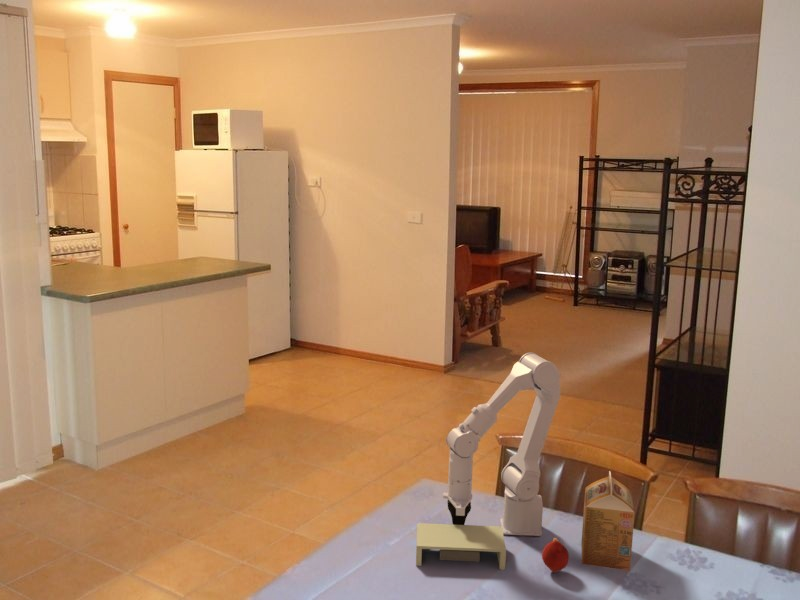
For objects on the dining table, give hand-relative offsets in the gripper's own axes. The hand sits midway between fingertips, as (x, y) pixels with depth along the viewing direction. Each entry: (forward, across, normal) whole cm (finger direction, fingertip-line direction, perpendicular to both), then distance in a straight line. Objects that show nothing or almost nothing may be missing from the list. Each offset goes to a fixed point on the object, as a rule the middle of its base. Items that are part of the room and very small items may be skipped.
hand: (458, 530), depth 187 cm
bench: (+1, +10, 0) cm, 10 cm away
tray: (+2, +6, 0) cm, 7 cm away
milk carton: (+2, +7, +34) cm, 35 cm away
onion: (+2, +15, +21) cm, 26 cm away
